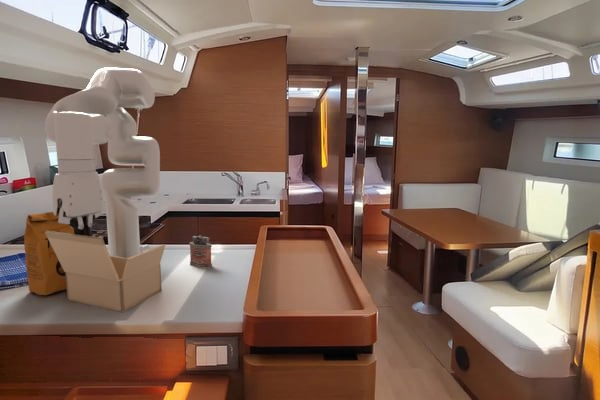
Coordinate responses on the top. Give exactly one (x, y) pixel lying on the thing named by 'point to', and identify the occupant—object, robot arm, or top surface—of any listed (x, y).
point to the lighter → (200, 252)
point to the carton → (119, 282)
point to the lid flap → (82, 255)
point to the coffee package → (43, 254)
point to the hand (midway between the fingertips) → (83, 243)
